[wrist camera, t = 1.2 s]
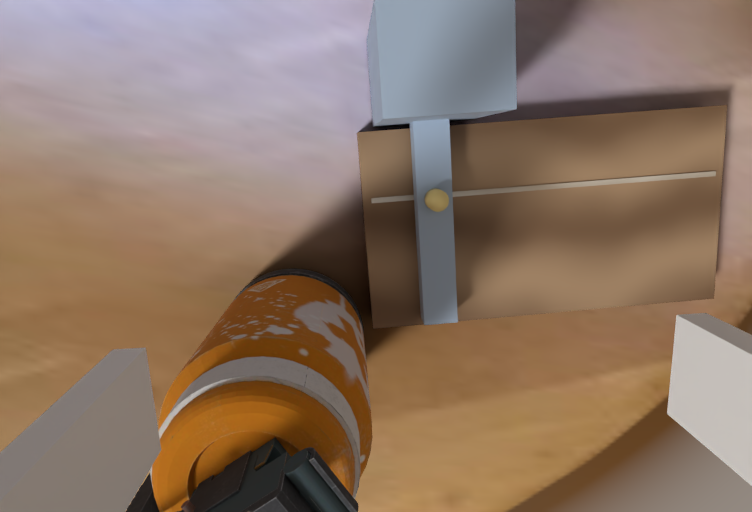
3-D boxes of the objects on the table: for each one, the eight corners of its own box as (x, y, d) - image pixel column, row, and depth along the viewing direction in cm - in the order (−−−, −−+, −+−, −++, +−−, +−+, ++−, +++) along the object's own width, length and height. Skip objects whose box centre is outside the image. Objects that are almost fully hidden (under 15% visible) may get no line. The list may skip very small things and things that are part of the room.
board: (356, 133, 32) (357, 132, 30) (704, 107, 32) (728, 104, 30) (371, 318, 34) (373, 329, 32) (693, 290, 35) (714, 298, 33)
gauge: (365, 22, 30) (372, -30, 21) (466, 15, 30) (514, -39, 22) (386, 308, 34) (399, 365, 25) (475, 300, 34) (520, 354, 25)
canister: (389, 347, 35) (443, 605, 15) (256, 434, 35) (143, 786, 16) (311, 239, 33) (259, 374, 13) (173, 333, 34) (-69, 591, 14)
